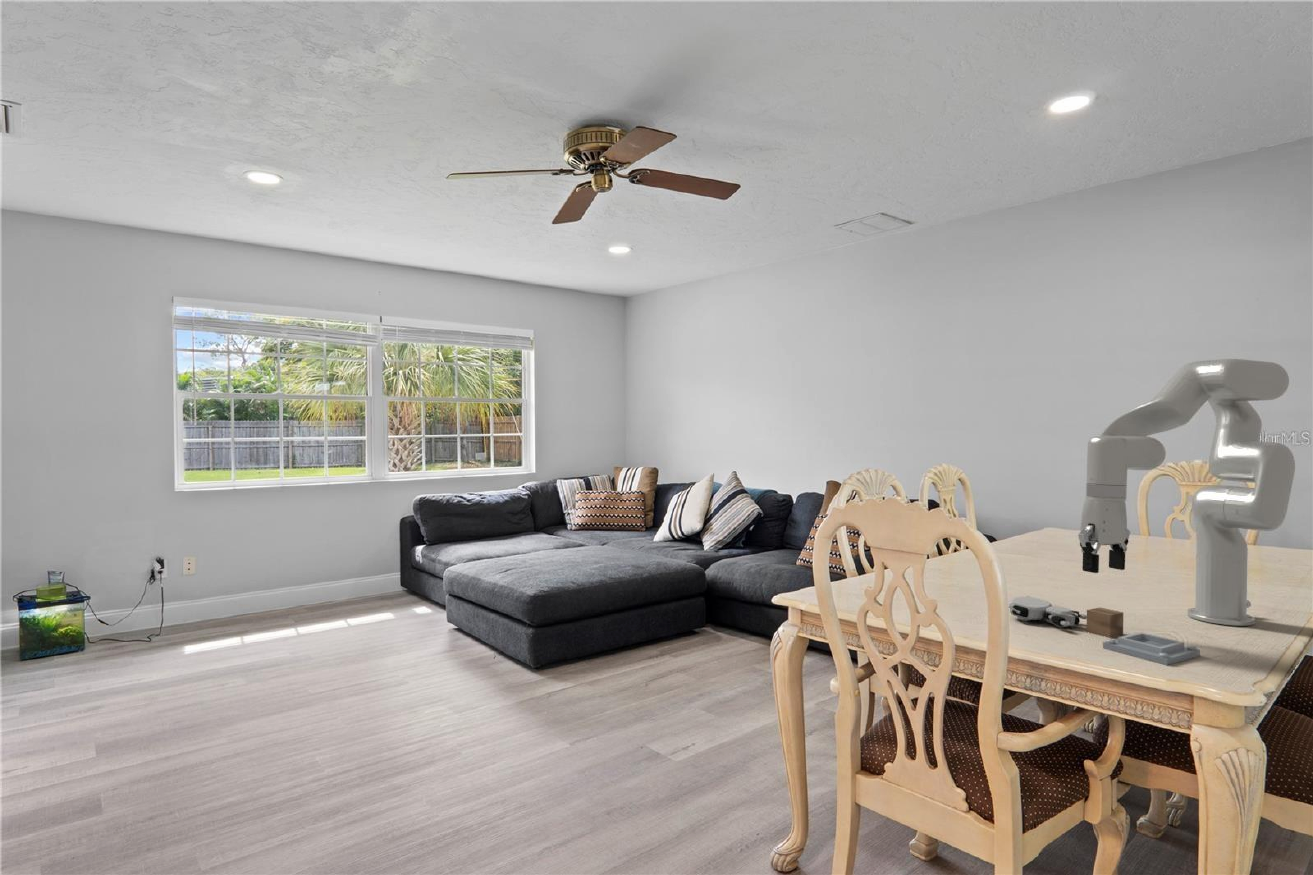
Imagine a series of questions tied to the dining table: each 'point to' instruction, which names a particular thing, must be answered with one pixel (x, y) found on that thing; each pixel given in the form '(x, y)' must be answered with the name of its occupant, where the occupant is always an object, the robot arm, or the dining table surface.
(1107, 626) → the walnut cube
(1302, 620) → the dining table surface
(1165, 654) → the base plate
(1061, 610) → the robot toy
